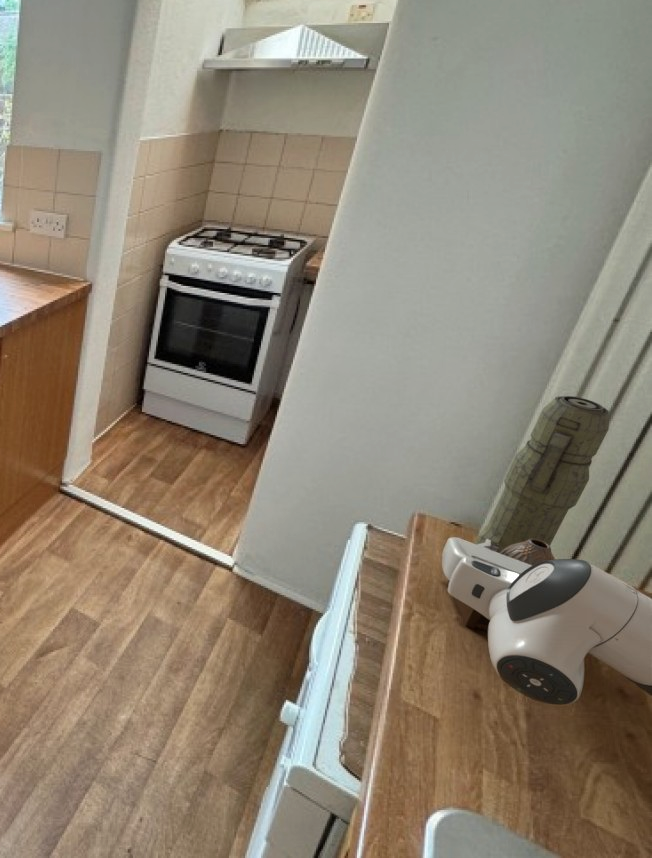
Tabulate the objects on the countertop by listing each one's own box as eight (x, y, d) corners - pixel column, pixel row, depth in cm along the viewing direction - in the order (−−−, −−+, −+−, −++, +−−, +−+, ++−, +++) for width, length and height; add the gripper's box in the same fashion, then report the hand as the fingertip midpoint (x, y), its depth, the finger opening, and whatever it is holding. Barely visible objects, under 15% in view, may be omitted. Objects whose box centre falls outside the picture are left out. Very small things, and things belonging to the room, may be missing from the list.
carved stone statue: (461, 573, 108) (539, 403, 96) (473, 544, 116) (547, 382, 103) (529, 603, 102) (622, 426, 89) (537, 570, 109) (624, 402, 97)
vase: (514, 569, 100) (535, 527, 96) (560, 602, 93) (585, 558, 90) (477, 571, 99) (497, 529, 96) (521, 605, 93) (544, 560, 89)
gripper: (654, 636, 77) (639, 579, 87) (448, 555, 90) (454, 513, 100) (632, 671, 80) (619, 611, 89) (434, 587, 93) (441, 543, 102)
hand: (530, 559), depth 94 cm, fingers open, 8 cm apart
